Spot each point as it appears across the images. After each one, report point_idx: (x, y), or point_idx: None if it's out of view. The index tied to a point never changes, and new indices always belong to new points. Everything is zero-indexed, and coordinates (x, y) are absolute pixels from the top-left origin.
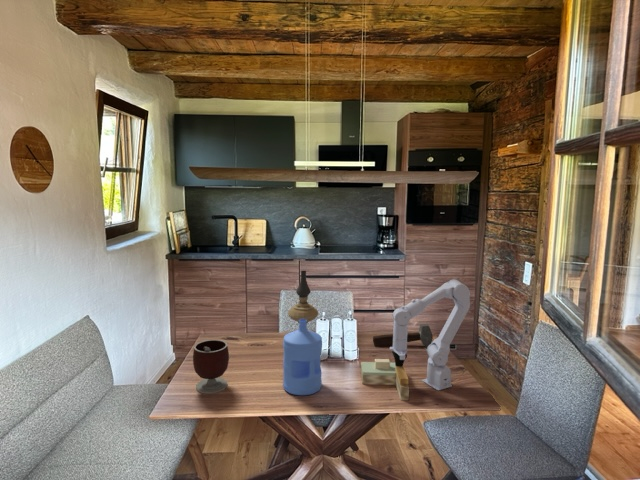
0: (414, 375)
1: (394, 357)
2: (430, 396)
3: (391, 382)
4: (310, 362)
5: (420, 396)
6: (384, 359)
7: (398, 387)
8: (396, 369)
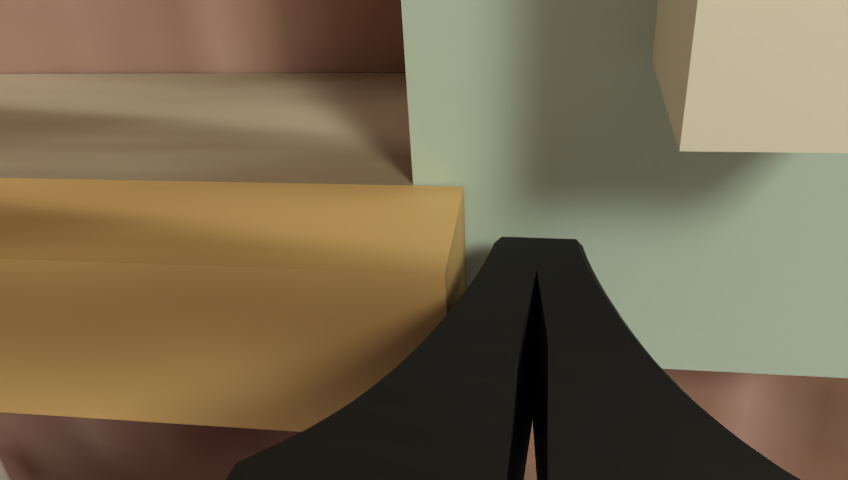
0: (807, 432)
1: (247, 461)
2: (184, 455)
3: None
4: None
5: None
6: None
7: (100, 114)
8: (327, 245)
